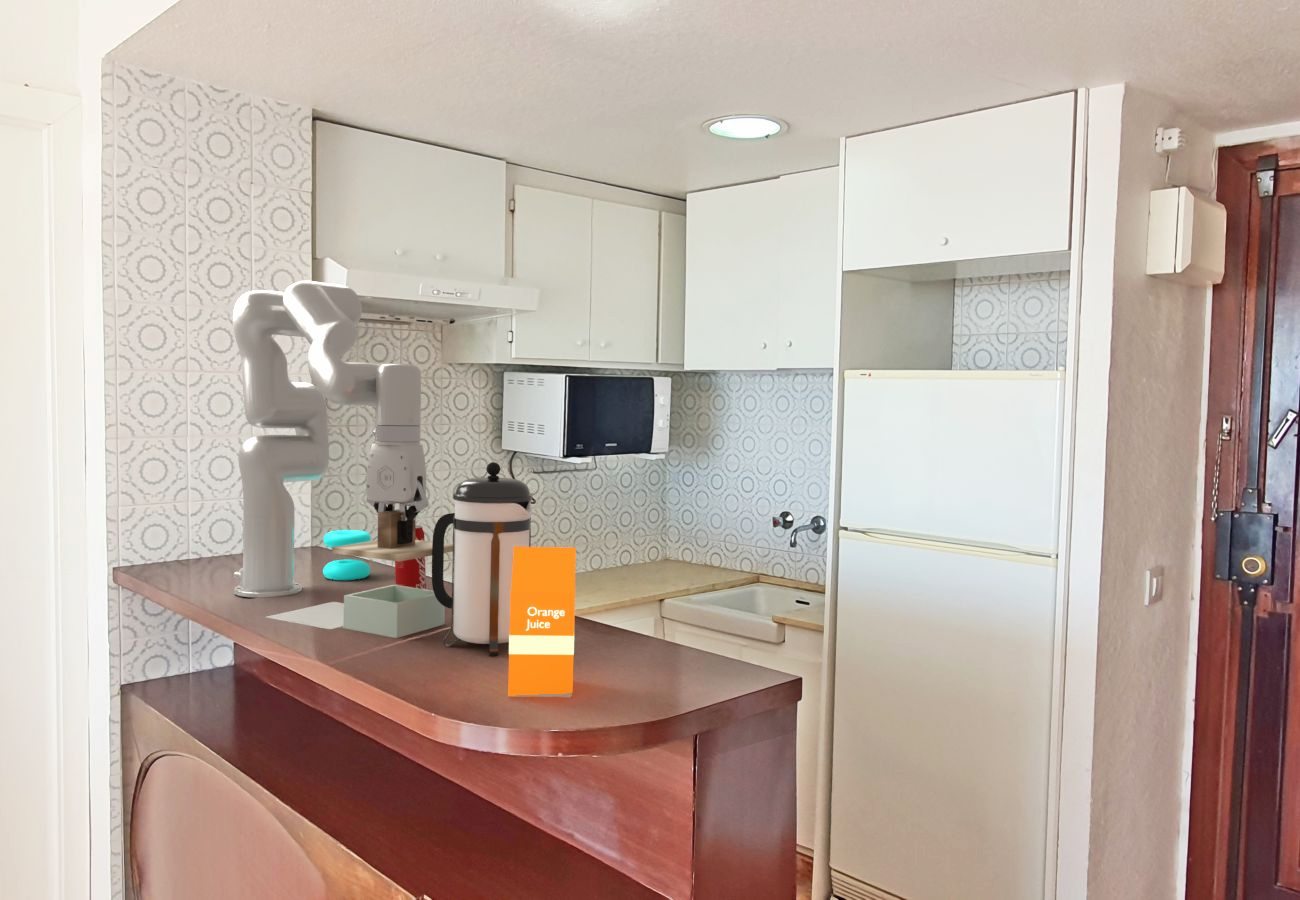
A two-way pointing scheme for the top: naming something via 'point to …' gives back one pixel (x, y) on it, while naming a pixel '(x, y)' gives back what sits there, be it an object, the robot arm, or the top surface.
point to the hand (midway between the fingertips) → (396, 541)
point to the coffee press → (482, 555)
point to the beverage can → (412, 568)
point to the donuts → (346, 567)
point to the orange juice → (542, 621)
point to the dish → (393, 611)
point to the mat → (316, 616)
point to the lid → (390, 542)
